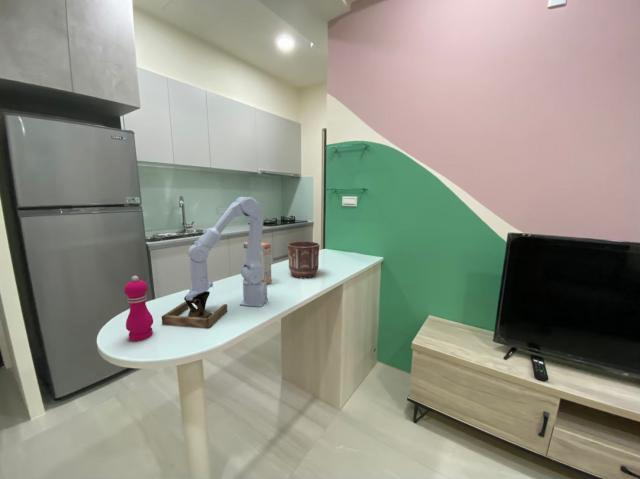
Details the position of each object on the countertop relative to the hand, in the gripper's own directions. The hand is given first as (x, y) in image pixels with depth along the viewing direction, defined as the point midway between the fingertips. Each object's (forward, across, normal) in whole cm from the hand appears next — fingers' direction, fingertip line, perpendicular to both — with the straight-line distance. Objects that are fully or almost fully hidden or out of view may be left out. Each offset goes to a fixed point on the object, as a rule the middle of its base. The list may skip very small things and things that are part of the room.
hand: (201, 310), depth 101 cm
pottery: (+1, -55, +29) cm, 62 cm away
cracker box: (+1, -39, +8) cm, 40 cm away
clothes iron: (+1, +3, 0) cm, 3 cm away
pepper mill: (+1, +18, -10) cm, 20 cm away
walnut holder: (+1, +3, 0) cm, 3 cm away
